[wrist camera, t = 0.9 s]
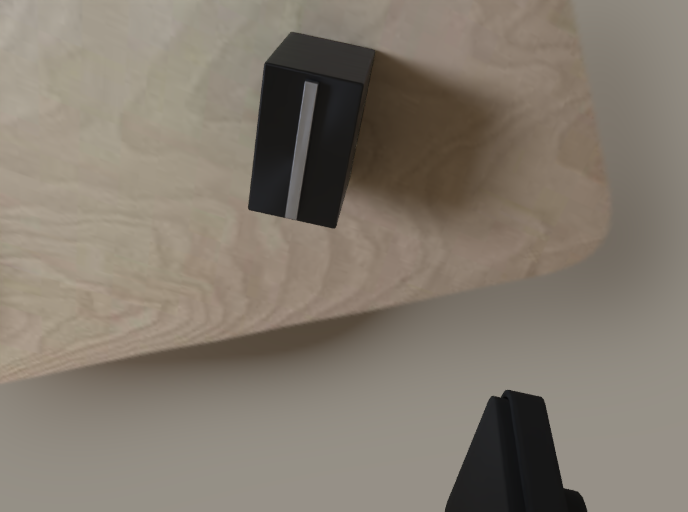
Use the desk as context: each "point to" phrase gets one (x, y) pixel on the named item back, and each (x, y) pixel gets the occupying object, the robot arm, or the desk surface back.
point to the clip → (308, 128)
